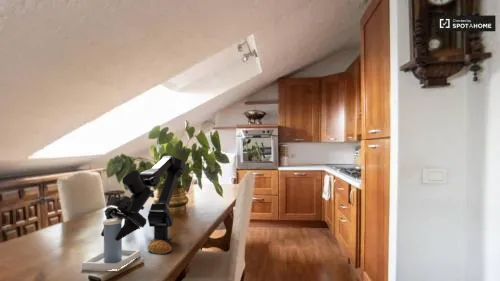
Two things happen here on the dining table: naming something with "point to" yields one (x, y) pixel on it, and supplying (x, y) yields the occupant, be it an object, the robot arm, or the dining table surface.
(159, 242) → the pastry
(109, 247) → the blue cylindrical canister
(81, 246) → the dining table surface
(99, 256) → the tray
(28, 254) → the dining table surface
